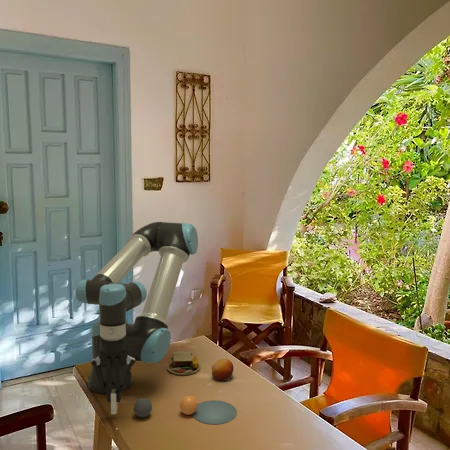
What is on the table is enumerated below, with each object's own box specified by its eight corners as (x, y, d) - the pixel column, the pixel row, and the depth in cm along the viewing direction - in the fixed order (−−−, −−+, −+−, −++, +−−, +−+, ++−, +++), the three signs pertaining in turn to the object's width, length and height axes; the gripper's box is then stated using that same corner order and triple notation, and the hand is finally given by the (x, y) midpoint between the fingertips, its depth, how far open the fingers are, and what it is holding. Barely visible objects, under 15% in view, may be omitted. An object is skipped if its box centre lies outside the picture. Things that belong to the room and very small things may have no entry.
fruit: (236, 380, 164) (225, 360, 164) (217, 389, 166) (206, 369, 166) (240, 370, 172) (229, 352, 172) (222, 379, 174) (211, 360, 174)
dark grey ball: (130, 417, 142) (129, 400, 141) (142, 409, 146) (142, 393, 146) (143, 422, 139) (143, 405, 138) (155, 414, 143) (155, 397, 143)
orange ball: (176, 414, 144) (176, 397, 143) (187, 407, 148) (187, 390, 148) (190, 420, 141) (190, 402, 140) (201, 412, 145) (201, 395, 145)
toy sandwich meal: (165, 376, 170) (165, 364, 170) (169, 361, 184) (169, 350, 183) (199, 377, 170) (199, 364, 170) (201, 361, 184) (201, 350, 183)
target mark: (182, 415, 143) (182, 414, 143) (208, 396, 155) (208, 396, 155) (220, 429, 136) (220, 428, 136) (244, 408, 148) (244, 408, 148)
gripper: (88, 341, 134) (89, 419, 137) (134, 340, 135) (134, 417, 138) (93, 332, 141) (94, 406, 144) (136, 331, 143) (137, 404, 145)
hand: (114, 411), depth 141 cm, fingers closed
